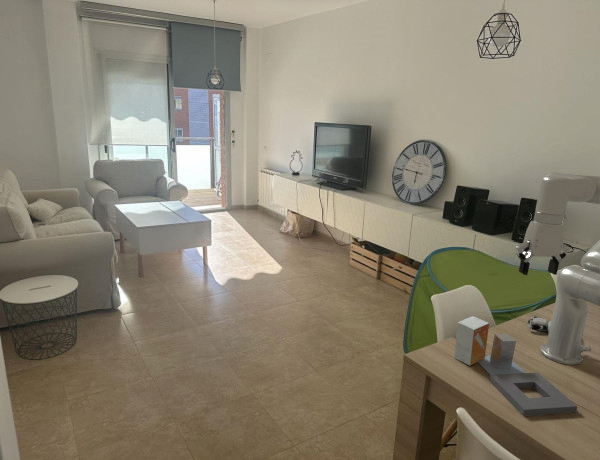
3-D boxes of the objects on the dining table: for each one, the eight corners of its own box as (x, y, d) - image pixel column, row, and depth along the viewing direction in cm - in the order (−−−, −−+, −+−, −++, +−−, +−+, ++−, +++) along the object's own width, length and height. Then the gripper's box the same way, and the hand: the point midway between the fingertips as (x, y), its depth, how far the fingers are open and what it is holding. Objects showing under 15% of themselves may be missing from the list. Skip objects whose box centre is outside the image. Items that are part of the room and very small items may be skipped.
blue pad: (505, 355, 146) (505, 354, 146) (528, 376, 134) (529, 375, 134) (472, 357, 144) (472, 356, 144) (493, 378, 132) (493, 377, 132)
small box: (470, 366, 138) (474, 329, 134) (453, 357, 143) (456, 321, 139) (485, 358, 142) (489, 322, 139) (468, 350, 147) (472, 315, 144)
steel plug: (502, 361, 141) (507, 333, 139) (510, 369, 137) (516, 340, 135) (489, 361, 141) (494, 334, 138) (497, 369, 136) (503, 341, 134)
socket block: (536, 378, 134) (537, 372, 133) (575, 412, 118) (577, 406, 118) (489, 380, 131) (490, 374, 131) (523, 416, 116) (524, 409, 115)
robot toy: (525, 334, 164) (571, 344, 155) (526, 323, 163) (573, 332, 154) (529, 322, 173) (573, 331, 165) (530, 312, 172) (574, 320, 164)
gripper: (565, 215, 131) (554, 268, 136) (513, 215, 128) (504, 269, 133) (584, 221, 124) (572, 277, 128) (530, 221, 121) (519, 278, 126)
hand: (537, 273), depth 131 cm, fingers open, 9 cm apart
